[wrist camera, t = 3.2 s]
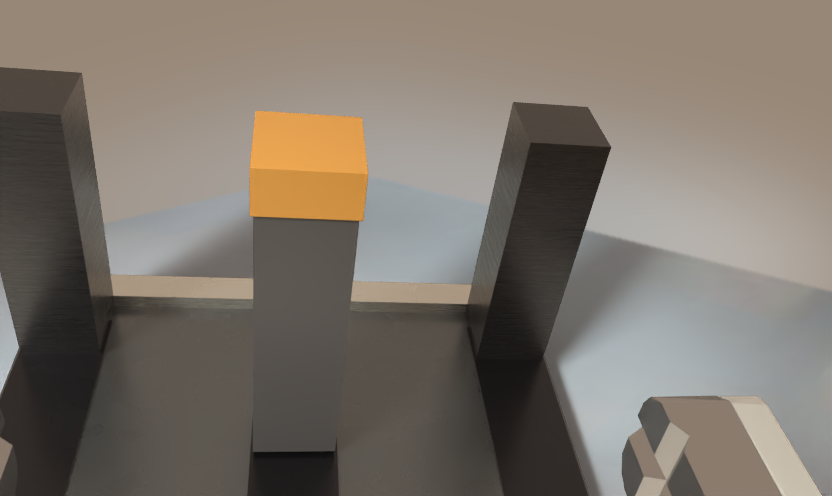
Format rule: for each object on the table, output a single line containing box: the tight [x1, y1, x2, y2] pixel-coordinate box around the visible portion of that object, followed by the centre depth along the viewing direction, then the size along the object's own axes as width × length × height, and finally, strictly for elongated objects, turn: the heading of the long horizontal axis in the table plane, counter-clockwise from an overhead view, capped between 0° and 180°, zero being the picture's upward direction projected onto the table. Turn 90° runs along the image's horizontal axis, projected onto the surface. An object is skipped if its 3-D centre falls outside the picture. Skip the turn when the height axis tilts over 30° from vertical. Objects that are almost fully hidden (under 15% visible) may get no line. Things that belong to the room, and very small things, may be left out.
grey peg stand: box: [0, 67, 611, 496], centre depth 27 cm, size 22×16×12 cm
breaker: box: [250, 111, 368, 452], centre depth 26 cm, size 3×3×12 cm
